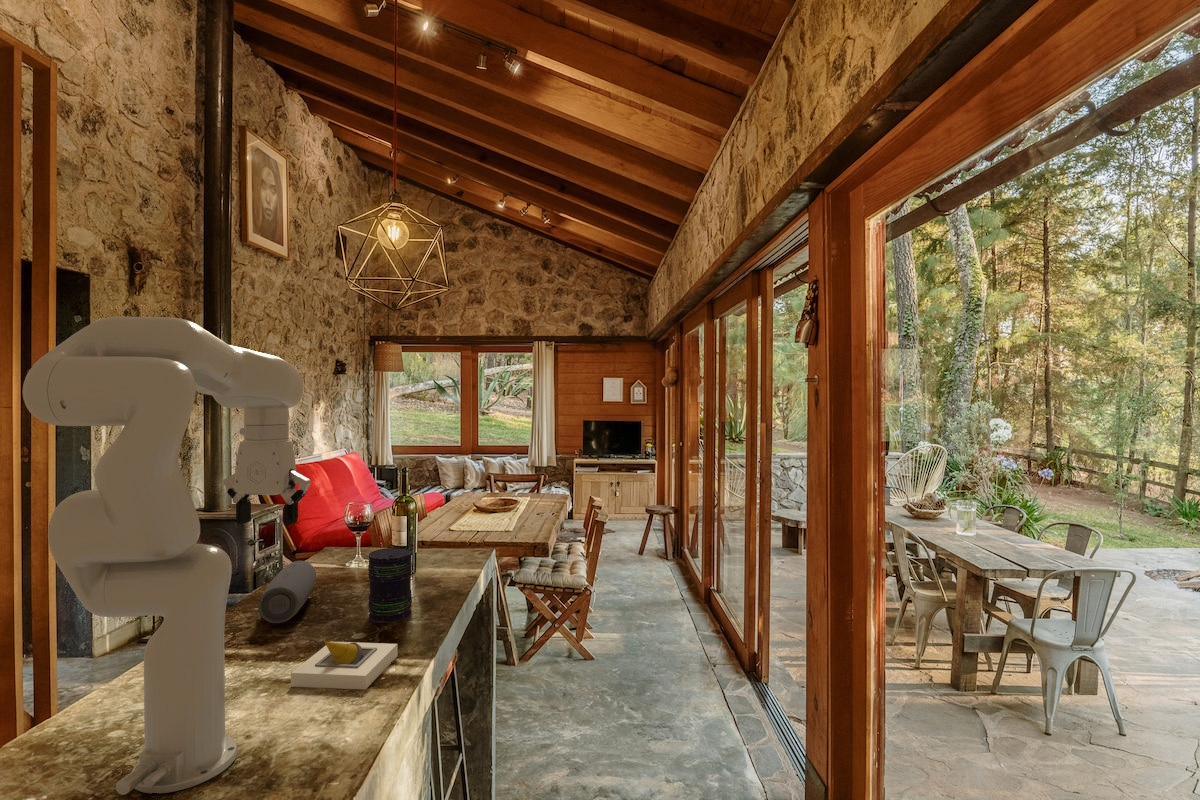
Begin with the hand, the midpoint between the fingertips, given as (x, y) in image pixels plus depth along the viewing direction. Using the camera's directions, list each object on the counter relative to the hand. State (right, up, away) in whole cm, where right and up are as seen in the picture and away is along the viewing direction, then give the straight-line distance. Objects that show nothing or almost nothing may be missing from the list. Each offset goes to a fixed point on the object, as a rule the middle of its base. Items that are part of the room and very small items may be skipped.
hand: (267, 523), depth 118 cm
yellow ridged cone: (+15, -28, 0) cm, 32 cm away
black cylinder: (+14, -28, +29) cm, 43 cm away
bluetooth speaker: (-12, -28, +32) cm, 44 cm away
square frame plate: (+15, -28, 0) cm, 32 cm away
